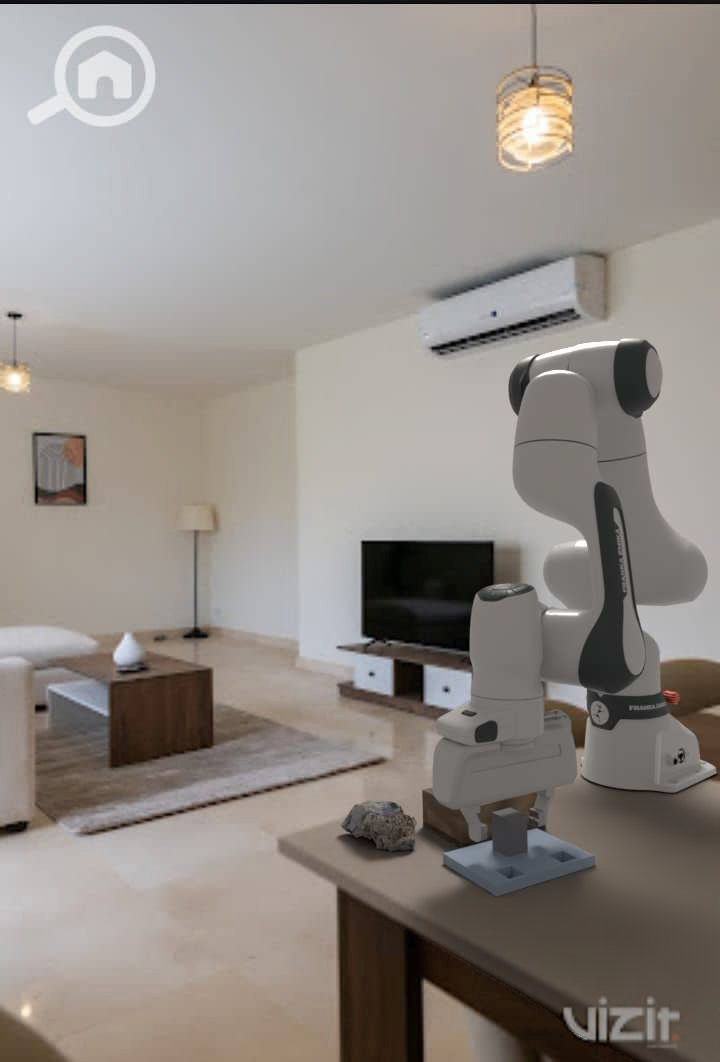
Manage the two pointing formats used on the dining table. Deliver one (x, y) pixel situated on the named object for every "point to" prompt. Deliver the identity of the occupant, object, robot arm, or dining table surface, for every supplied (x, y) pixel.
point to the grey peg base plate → (516, 856)
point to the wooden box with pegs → (455, 824)
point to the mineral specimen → (382, 824)
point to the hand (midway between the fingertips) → (509, 831)
